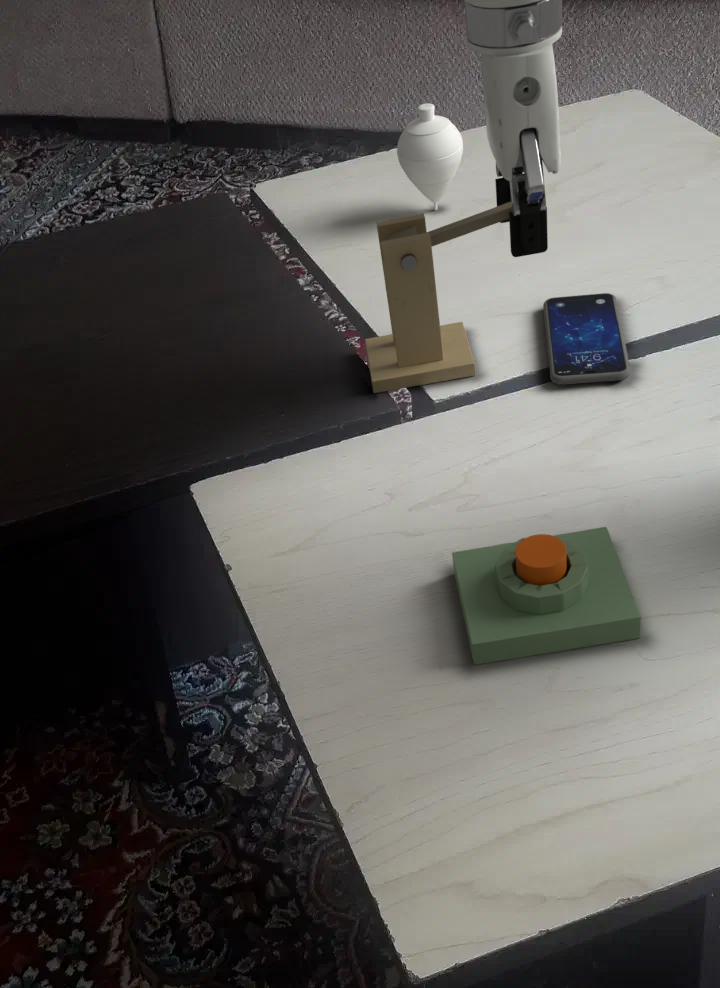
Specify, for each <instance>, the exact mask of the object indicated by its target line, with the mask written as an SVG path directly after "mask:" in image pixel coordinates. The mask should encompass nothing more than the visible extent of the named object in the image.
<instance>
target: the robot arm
mask: <svg viewBox="0 0 720 988" xmlns="http://www.w3.org/2000/svg"><path fill="white" fill-rule="evenodd" d="M464 13H465V14H464V15H465V27H466V29H465V30H466V40H467V41H466V42H467V48H468V49H469V50H470V51H472V52H474V53H477V54H479V55H480V56H481V57H480V58H481V71H482V73H481V74H482V75H481V76H482V92H483V107H484V117H485V128H486V129H485V130H486V135H487V141H488V145H489V148H490V151H491V153H492V156H493V158H494V161H495V173H496V177H497V178H495V180H494V182H495V196H496V197H495V198H496V207H497V206H500V205H503V204H506V203H508V202H511V201H512V210H513V211H511V212H509V219H507V220H504V221H501V222H499V223H500V224H504V223H505V224H506V223H509V243H510V253H511V256H512V257H513V258H519V257H525V256H530V255H536V254H543V253H545V252H547V251H548V248H549V247H548V245H549V242H548V207H547V200H546V198H547V197H546V188H545V177H544V175H545V174H544V167H545V169H546V171H547V172H548V173H552V174H553V175H556V174H558V173H559V172H560V170H561V168H562V154H561V153H562V151H561V135H560V134H561V133H560V114H559V96H558V81H557V71H556V61H555V54H554V47H553V46H554V45H553V44H554V43H556V42H557V41H558V40H559V39H560V38H561V36H562V35H563V0H464ZM518 184H520V185H522V186H523V188H524V190H522V191H521V194H520V195H519V190H518ZM509 189H510V191H511V199H510V197H509ZM519 196H520V197H519Z"/></svg>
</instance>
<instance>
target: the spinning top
mask: <svg viewBox="0 0 720 988" xmlns="http://www.w3.org/2000/svg"><path fill="white" fill-rule="evenodd" d="M416 108H417V109H416V110H417V114H418V117H417V118H415V119H412V120H410V121H409V123H407V124H406V125H405V128H404V130H403V131H402V133H401V134H400V135H399V138H398V140H397V146H396V155H397V160H398V163H399V165H400V167H401V169H402V170H403V172H404V173H405V175H406V176H407V178H408V179H409V181H410V182H411V183H412V184H413V186H415V188H416V189H417V190H418V191H419V192H420V193H421V194H422V195H423V196H424V197H425V198H426V199H427V200H428V201H429V202H431V203H433V209H434V210H435V211H437V210H438V202H439V201H440V200H442V197H443V196H444V194H445V193H446V191H447V190H448V188H449V186H450V184H451V183H452V181H453V180H454V178H455V175H456V173H457V172H458V170H459V169H458V168H459V166H460V163H461V161H462V158H463V154H464V142H463V141H464V140H463V136H462V135H461V132H460V130H459V129H458V128H457V126H456V125H455V124H454V123H453V122H451V120H450V119H449V118H447V117H445V116H442V115H437V114H435V105H434V104H433V103H428V102H427V103H422V104H420V105H419V106H418V107H416Z"/></svg>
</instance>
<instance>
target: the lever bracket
mask: <svg viewBox="0 0 720 988" xmlns="http://www.w3.org/2000/svg"><path fill="white" fill-rule="evenodd" d="M426 222H427V221H426V216H425V213H423V212H422V213H418V214H412V215H406V216H400V217H396V218H391V219H390V218H389V219H385V220H380V221H376V229H377V237H378V244H379V250H380V257H381V264H382V271H383V277H384V285H385V291H386V292H385V293H386V298H387V299H386V300H387V306H388V307H387V308H388V314H389V320H390V327H391V328H390V329H391V334H385V335H379V336H374V337H368V338H365V339H364V344H365V350H366V356H367V362H368V369H369V374H370V381H371V387H372V392H373V394H378V393H385V392H389V391H395V390H401V389H402V390H403V389H407V388H412V387H417V386H418V387H419V386H425V385H429V384H436V383H441V382H447V381H452V380H458V379H463V378H470V377H475V376H476V375H477V373H476V362H475V360H474V356H473V353H472V349H471V346H470V343H469V339H468V335H467V333H466V329H465V325H464V322H463V321H457V322H453V323H446V324H441V322H440V321H441V320H440V314H439V313H440V312H439V304H438V303H439V302H438V296H437V295H438V294H437V286H436V285H437V284H436V274H435V268H434V267H435V265H434V257H433V256H434V255H433V248H432V247H433V246H431V237H430V234H429V233H426V232H428V231H427V223H426ZM413 226H415V228H416V231H417V234H418V235H413V236H408V237H402V238H397V239H392V240H386V236H389V235H392V234H394V233H397V232H400V231H402V230H405V229H408V228H411V227H413Z"/></svg>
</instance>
